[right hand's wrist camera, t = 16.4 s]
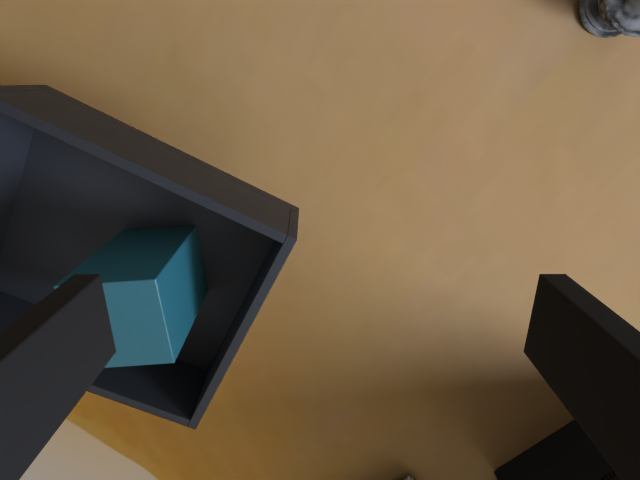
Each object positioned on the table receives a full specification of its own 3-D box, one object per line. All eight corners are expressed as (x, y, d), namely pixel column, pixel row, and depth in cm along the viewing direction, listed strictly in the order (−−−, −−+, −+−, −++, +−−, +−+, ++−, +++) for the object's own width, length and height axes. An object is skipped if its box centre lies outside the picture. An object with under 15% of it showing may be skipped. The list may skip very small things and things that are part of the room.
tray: (299, 208, 28) (297, 239, 23) (214, 370, 33) (195, 429, 27) (-216, -43, 22) (-389, -84, 17) (-230, 198, 27) (-370, 229, 22)
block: (121, 230, 28) (52, 286, 20) (196, 225, 28) (155, 279, 20) (138, 296, 29) (80, 370, 22) (208, 291, 29) (174, 363, 22)
